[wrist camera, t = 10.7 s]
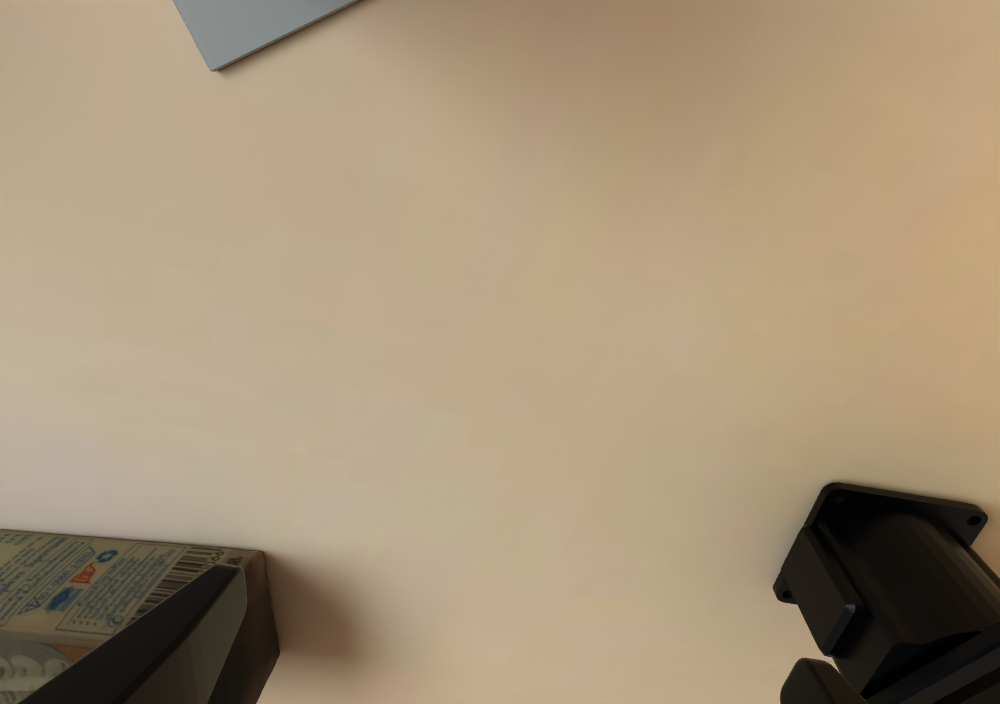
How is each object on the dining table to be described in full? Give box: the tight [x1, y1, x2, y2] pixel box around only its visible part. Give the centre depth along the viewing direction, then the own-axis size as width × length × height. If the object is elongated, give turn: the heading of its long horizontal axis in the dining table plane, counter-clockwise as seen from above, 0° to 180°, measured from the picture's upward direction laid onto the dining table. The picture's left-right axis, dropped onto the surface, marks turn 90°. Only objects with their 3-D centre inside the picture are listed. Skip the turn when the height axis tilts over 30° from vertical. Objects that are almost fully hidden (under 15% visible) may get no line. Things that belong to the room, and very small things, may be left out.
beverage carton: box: [0, 529, 280, 704], centre depth 26 cm, size 8×19×7 cm, turn 88°
